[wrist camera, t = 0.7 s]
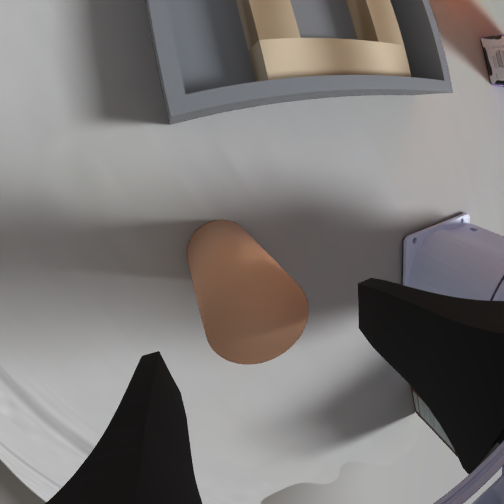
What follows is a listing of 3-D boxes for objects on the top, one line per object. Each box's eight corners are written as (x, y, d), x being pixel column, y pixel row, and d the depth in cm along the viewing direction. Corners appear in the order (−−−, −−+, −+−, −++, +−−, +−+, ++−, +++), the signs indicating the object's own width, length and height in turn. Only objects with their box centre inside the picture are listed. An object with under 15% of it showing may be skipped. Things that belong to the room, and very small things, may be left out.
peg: (244, 212, 18) (302, 258, 11) (257, 271, 19) (312, 343, 12) (178, 230, 17) (190, 292, 10) (197, 290, 19) (221, 376, 11)
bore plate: (357, -35, 13) (372, -44, 11) (392, 80, 17) (411, 77, 15) (223, -46, 11) (230, -62, 9) (256, 87, 15) (268, 80, 13)
